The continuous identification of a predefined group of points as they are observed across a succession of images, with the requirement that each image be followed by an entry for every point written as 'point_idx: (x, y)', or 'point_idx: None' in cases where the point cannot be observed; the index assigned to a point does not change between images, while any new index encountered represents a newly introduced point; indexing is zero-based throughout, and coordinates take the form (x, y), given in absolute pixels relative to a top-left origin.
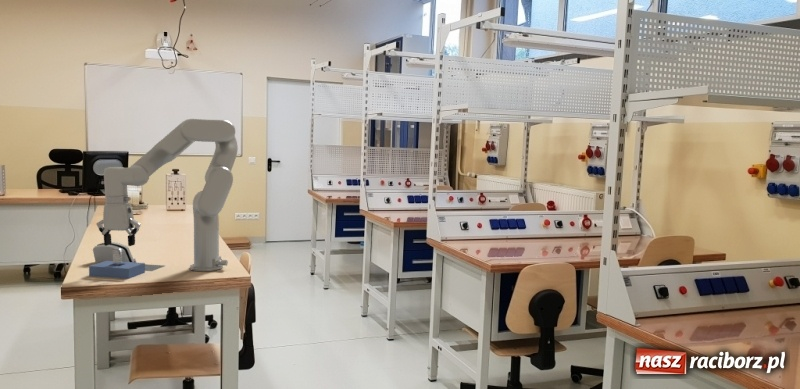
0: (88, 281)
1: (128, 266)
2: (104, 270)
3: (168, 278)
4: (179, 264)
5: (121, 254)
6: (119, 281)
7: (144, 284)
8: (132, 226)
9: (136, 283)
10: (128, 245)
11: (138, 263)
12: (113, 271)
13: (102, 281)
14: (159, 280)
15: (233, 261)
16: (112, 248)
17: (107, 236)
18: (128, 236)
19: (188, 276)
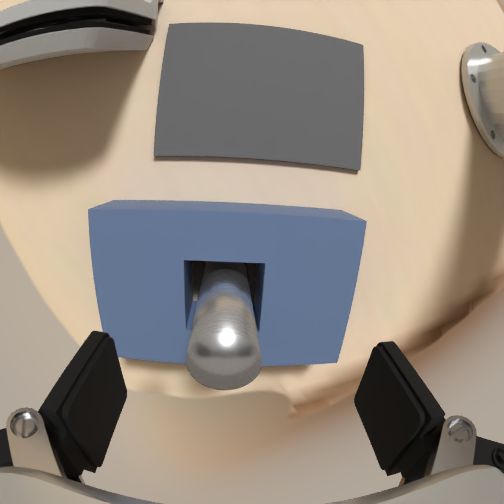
0: (180, 386)
1: (314, 325)
2: None
3: (449, 276)
4: (391, 13)
5: (256, 331)
6: (298, 365)
7: None
8: (481, 482)
9: None
10: (356, 402)
11: (335, 240)
12: None
13: None
14: (429, 310)
15: (496, 12)
16: (23, 58)
17: (94, 443)
18: (390, 469)
19: (489, 232)
